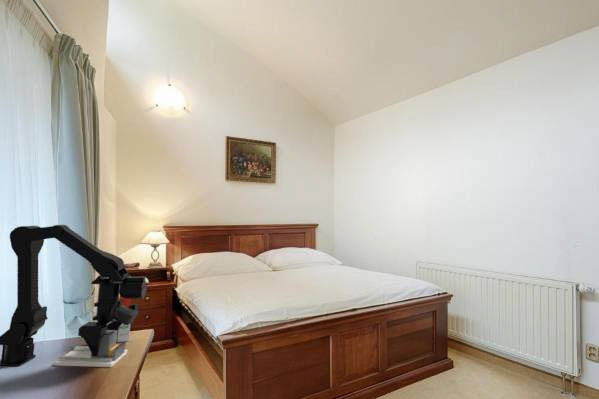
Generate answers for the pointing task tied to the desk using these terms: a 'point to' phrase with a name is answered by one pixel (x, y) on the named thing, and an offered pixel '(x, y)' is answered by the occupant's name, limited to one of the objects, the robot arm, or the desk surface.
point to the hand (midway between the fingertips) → (103, 349)
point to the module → (107, 343)
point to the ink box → (124, 326)
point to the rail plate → (90, 357)
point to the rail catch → (111, 351)
